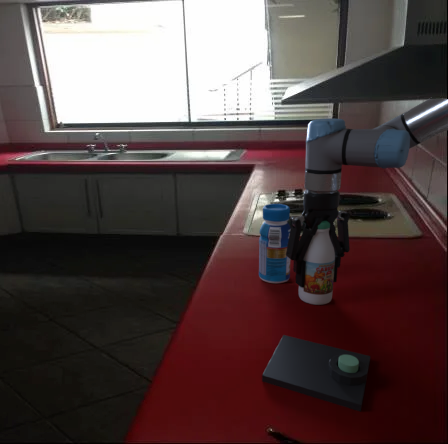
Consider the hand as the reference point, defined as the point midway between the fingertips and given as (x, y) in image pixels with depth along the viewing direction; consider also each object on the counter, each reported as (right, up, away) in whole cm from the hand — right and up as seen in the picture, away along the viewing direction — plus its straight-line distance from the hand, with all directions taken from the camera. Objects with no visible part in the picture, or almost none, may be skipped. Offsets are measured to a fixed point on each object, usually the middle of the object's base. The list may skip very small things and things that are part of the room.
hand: (315, 282), depth 100 cm
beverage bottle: (-6, -1, +13) cm, 15 cm away
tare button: (-5, -11, -28) cm, 30 cm away
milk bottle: (0, -4, +1) cm, 4 cm away
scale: (-9, -13, -24) cm, 29 cm away
